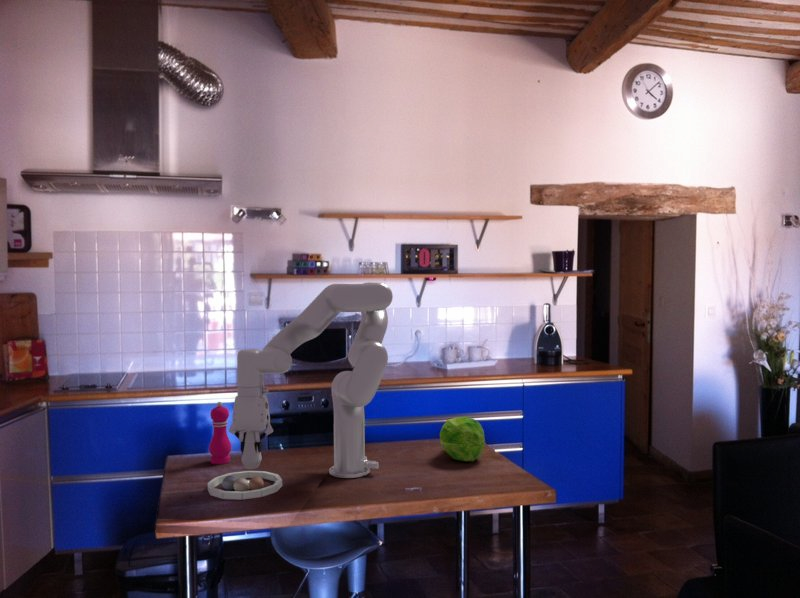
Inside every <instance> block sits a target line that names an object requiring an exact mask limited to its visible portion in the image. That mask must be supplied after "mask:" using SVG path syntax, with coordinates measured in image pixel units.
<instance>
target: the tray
mask: <svg viewBox="0 0 800 598" xmlns="http://www.w3.org/2000/svg"><path fill="white" fill-rule="evenodd" d="M226 476H233V477H235V478H236V480H237V479H238V478H244V479H246V480H247V482H248V488H247V490H246V491H243V492H240V491H235V490H234V491H233V490H225V489H220V488H216V487H217V486H218V485H222V481H223V479H224V478H225V477H226ZM256 476H258V477H260V478H262V479H263V480H268V481H272V482H274V483H273V484H272V485H269V486H265V487H262V489H258V490H251V489H250V487H249V482H250V480H251V479H252V478H253V477H256ZM282 487H283V479H282V478H281V476H280V475H279V474H278V473H275V472H270V471H266V470H265V471H264V470H262V471H261V470H245V471H235V472H230V473H225V474H222V475H219V476H215V477H214V478H213V479H211V480H210V481H209V482H207V491H208V493H209V495H210V496H211V497H215V498H219V499H223V500H248V499H257V498H262V497H266V496H269V495H272V494H274V493H277V492H278V491H279V490H280V489H281V488H282ZM249 489H250V490H249Z"/></svg>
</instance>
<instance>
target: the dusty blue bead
mask: <svg viewBox="0 0 800 598" xmlns="http://www.w3.org/2000/svg"><path fill="white" fill-rule="evenodd" d="M235 480H237V479H236V478H235V477H233V476H226V477H225V478H224V479H223V481H222V483H221V485H222V488H223V490H225V491H233V490H235V489H234V487H233V485H234V482H235Z"/></svg>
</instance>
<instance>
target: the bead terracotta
mask: <svg viewBox="0 0 800 598" xmlns="http://www.w3.org/2000/svg"><path fill="white" fill-rule="evenodd" d="M249 480H250V482H249V487H250V488H249V489H250V491H251V490H258V489H262V488H264V484H265V483H264V479H263V478H260V477H258V476H256V477H253V478H250V479H249Z"/></svg>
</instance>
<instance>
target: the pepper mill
mask: <svg viewBox="0 0 800 598" xmlns="http://www.w3.org/2000/svg"><path fill="white" fill-rule="evenodd" d="M210 411H211V412H210V419H211V420H212V422H211V425H212V427H213V435H212V437H211V440H210V442H209V445H208V446H209V447H208V452H209V453H210V455H211V456H210V463H211V464H213V465H224V464H228V463H230V462H231V455H230V453H231V451H232V450H233V449H232V443H231V441H230V439H229V436H228V433H227V427H228V425H229V424H228V423H229V421H228V419H229V417H230V411H229V409H228V407H226V406H223V402H221V401H218V402H217V403H216V406H215V407H213V408H212V409H211V410H210Z"/></svg>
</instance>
